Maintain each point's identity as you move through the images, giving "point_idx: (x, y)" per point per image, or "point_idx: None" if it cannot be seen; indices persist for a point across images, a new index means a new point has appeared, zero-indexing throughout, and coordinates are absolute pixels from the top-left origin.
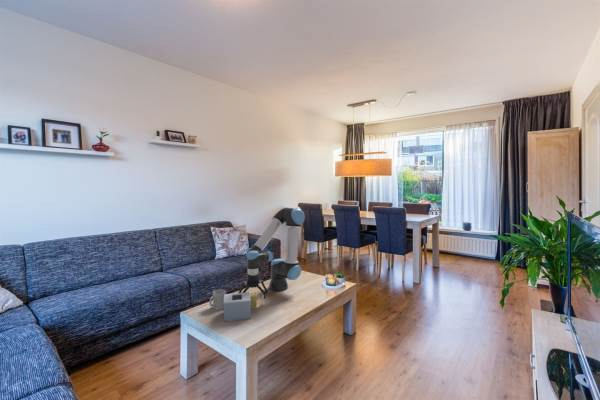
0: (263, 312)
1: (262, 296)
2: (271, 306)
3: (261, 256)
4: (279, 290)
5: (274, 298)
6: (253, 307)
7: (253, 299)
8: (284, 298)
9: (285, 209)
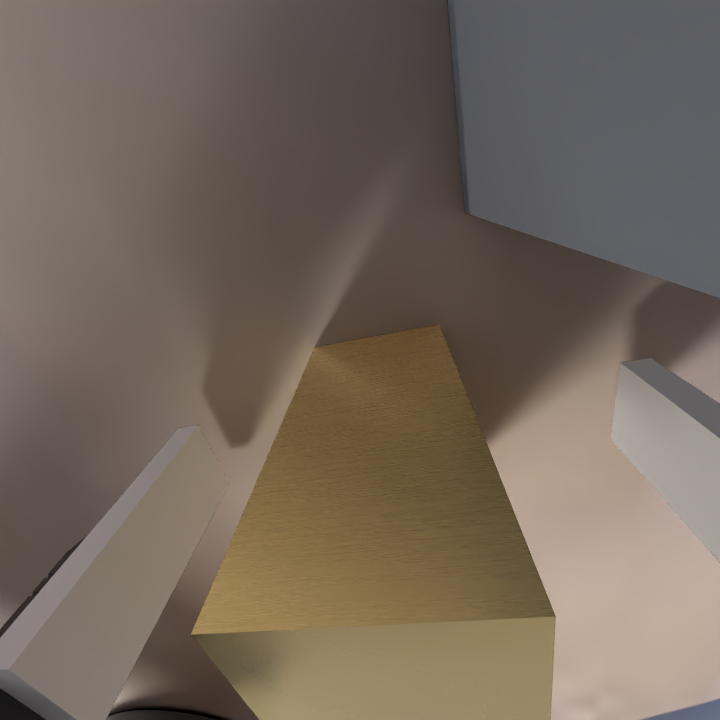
0: (55, 34)
1: (135, 613)
2: (42, 375)
3: None
4: (148, 717)
5: None
6: (378, 336)
7: (371, 467)
8: (5, 587)
9: None
